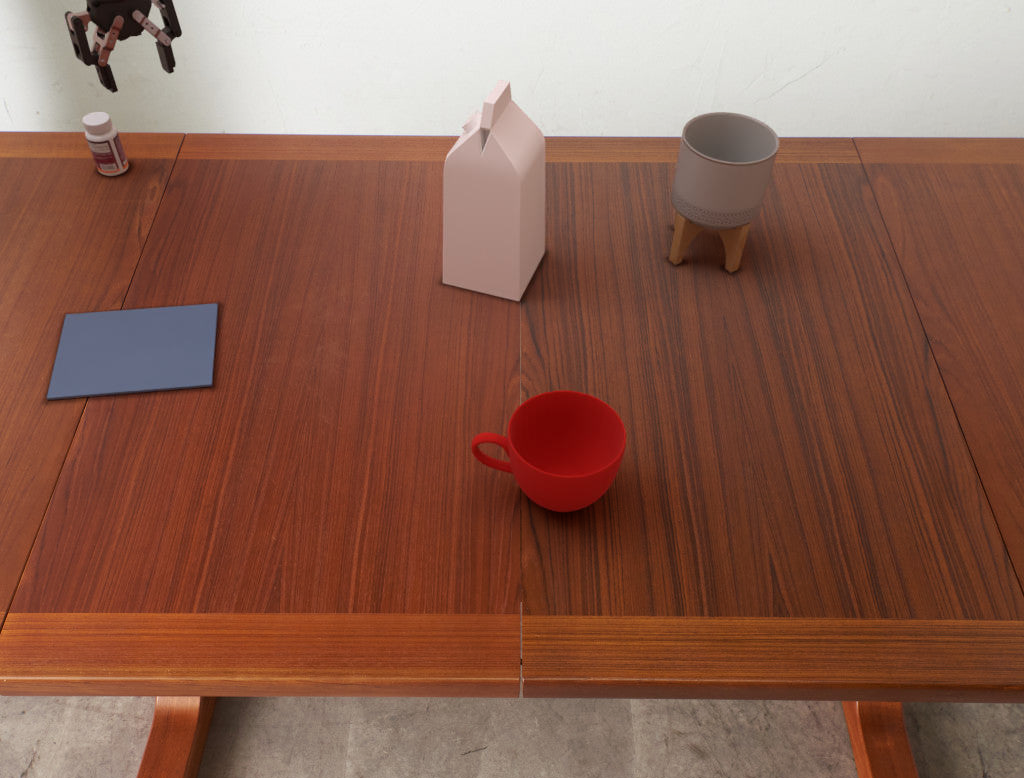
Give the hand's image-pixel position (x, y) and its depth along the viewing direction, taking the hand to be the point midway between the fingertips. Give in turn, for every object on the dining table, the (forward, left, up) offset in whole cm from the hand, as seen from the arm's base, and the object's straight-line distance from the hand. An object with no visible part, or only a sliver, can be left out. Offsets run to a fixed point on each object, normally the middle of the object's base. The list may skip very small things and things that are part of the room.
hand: (140, 80), depth 125 cm
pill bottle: (-10, +9, -18) cm, 23 cm away
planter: (+79, -22, -18) cm, 84 cm away
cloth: (-2, -35, -18) cm, 40 cm away
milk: (+47, -23, -18) cm, 55 cm away
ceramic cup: (+47, -65, -18) cm, 82 cm away
